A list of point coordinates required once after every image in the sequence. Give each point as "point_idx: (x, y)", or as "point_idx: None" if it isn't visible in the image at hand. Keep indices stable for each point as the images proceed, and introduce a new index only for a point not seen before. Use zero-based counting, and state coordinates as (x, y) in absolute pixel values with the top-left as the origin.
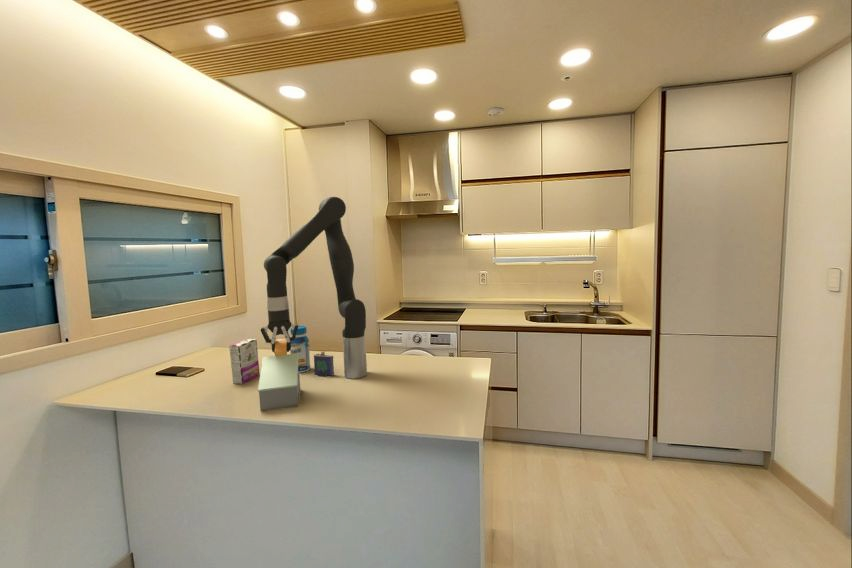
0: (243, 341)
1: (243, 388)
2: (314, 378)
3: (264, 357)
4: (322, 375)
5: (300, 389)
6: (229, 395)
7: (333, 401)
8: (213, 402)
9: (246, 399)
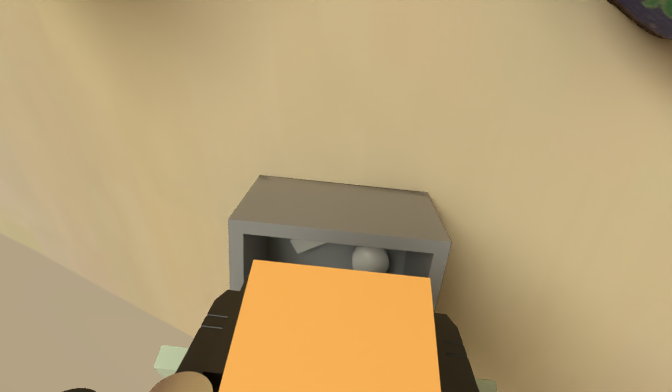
0: None
1: (98, 7)
2: (547, 23)
3: (170, 372)
4: (617, 2)
5: (427, 195)
6: (58, 100)
7: (528, 372)
8: (17, 166)
9: (170, 198)
